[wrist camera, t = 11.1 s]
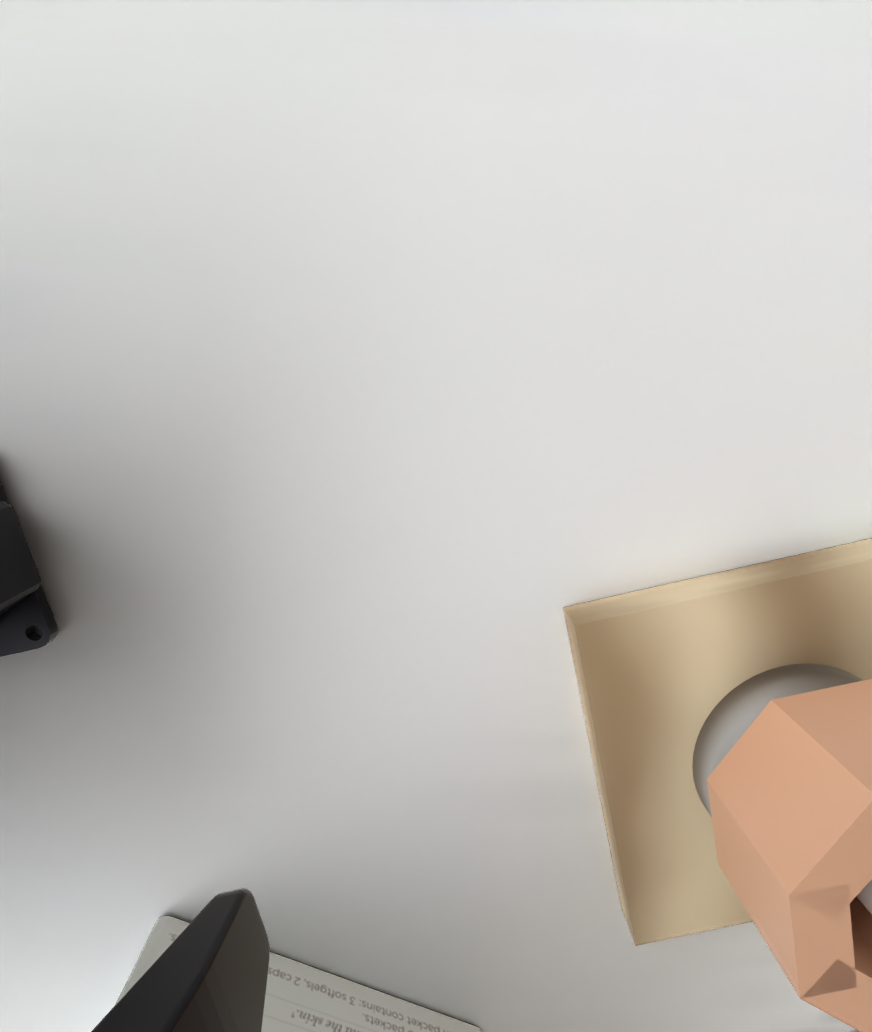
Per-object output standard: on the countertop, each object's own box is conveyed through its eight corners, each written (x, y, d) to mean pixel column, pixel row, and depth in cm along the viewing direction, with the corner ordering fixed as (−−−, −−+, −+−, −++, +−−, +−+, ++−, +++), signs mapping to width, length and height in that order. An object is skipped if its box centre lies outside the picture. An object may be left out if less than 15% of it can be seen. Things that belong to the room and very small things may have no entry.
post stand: (622, 909, 22) (739, 1218, 14) (563, 607, 20) (664, 770, 12) (948, 840, 22) (1264, 1116, 14) (932, 524, 20) (1309, 631, 11)
